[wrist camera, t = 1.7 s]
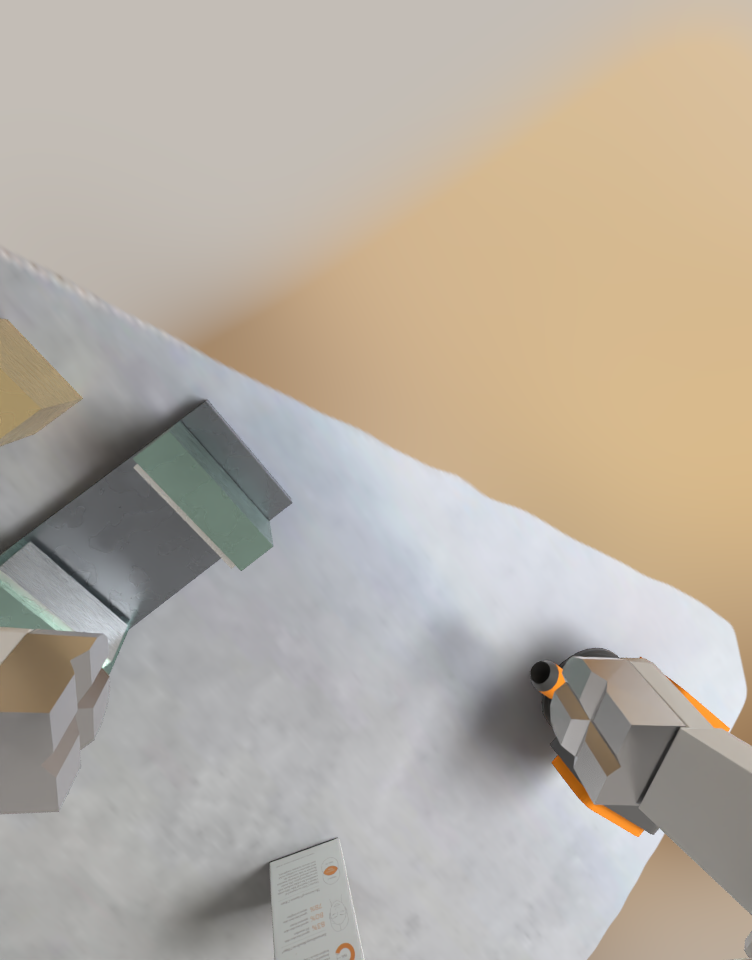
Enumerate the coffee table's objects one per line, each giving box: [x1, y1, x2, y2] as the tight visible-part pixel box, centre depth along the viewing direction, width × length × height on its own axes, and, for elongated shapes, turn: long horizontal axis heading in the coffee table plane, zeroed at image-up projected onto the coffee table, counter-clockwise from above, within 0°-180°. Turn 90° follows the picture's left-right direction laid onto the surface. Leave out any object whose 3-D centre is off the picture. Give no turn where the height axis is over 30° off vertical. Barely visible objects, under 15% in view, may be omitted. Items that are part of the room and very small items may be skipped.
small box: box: [270, 838, 364, 960], centre depth 48 cm, size 8×6×13 cm
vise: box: [0, 400, 292, 675], centre depth 36 cm, size 21×11×8 cm, turn 125°
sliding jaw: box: [133, 421, 273, 571], centre depth 36 cm, size 4×11×6 cm, turn 35°
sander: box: [531, 648, 730, 837], centre depth 51 cm, size 15×25×13 cm, turn 49°
